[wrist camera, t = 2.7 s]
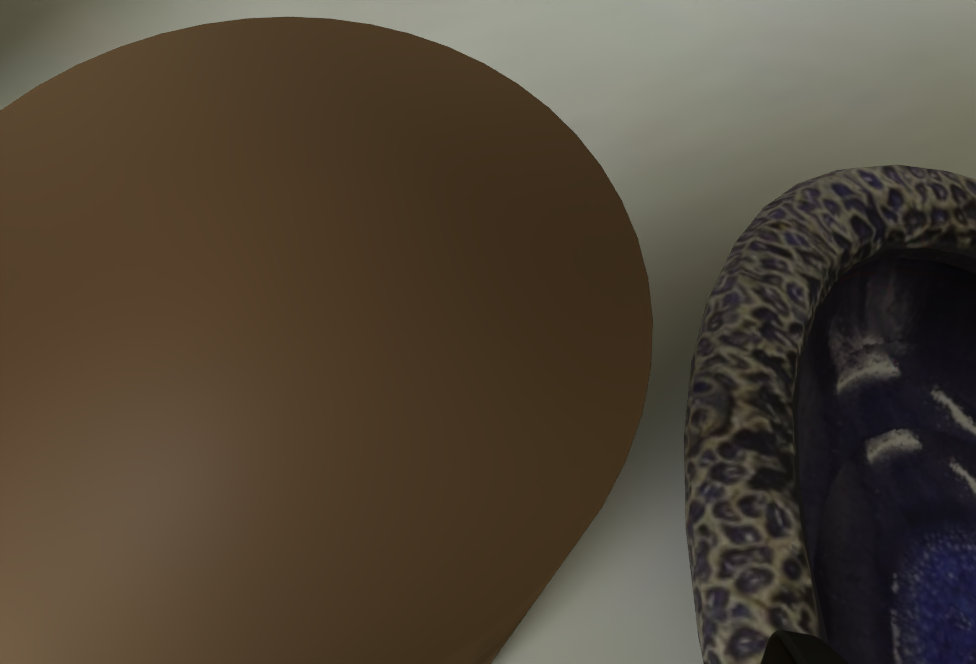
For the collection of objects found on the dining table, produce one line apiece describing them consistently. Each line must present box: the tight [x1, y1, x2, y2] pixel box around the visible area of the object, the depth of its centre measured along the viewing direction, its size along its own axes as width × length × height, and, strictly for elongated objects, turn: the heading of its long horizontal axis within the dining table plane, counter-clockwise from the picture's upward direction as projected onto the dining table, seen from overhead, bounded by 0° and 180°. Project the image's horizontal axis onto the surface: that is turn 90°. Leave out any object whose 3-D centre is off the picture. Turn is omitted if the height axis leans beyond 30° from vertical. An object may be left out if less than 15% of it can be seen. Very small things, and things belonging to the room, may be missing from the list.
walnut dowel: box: [0, 17, 653, 664], centre depth 10 cm, size 5×5×13 cm
